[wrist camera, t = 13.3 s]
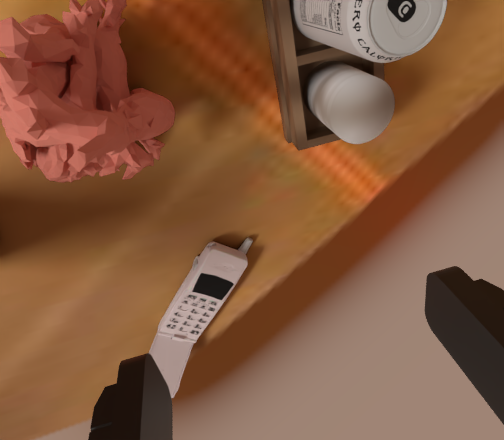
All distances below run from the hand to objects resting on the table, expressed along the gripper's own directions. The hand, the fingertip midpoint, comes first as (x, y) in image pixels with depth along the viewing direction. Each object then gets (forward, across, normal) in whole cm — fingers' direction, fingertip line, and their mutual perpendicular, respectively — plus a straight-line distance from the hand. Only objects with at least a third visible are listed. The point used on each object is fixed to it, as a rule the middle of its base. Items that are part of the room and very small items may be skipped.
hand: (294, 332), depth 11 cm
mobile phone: (+33, +9, +27) cm, 43 cm away
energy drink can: (+31, -12, -5) cm, 33 cm away
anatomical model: (+32, +10, -2) cm, 34 cm away
